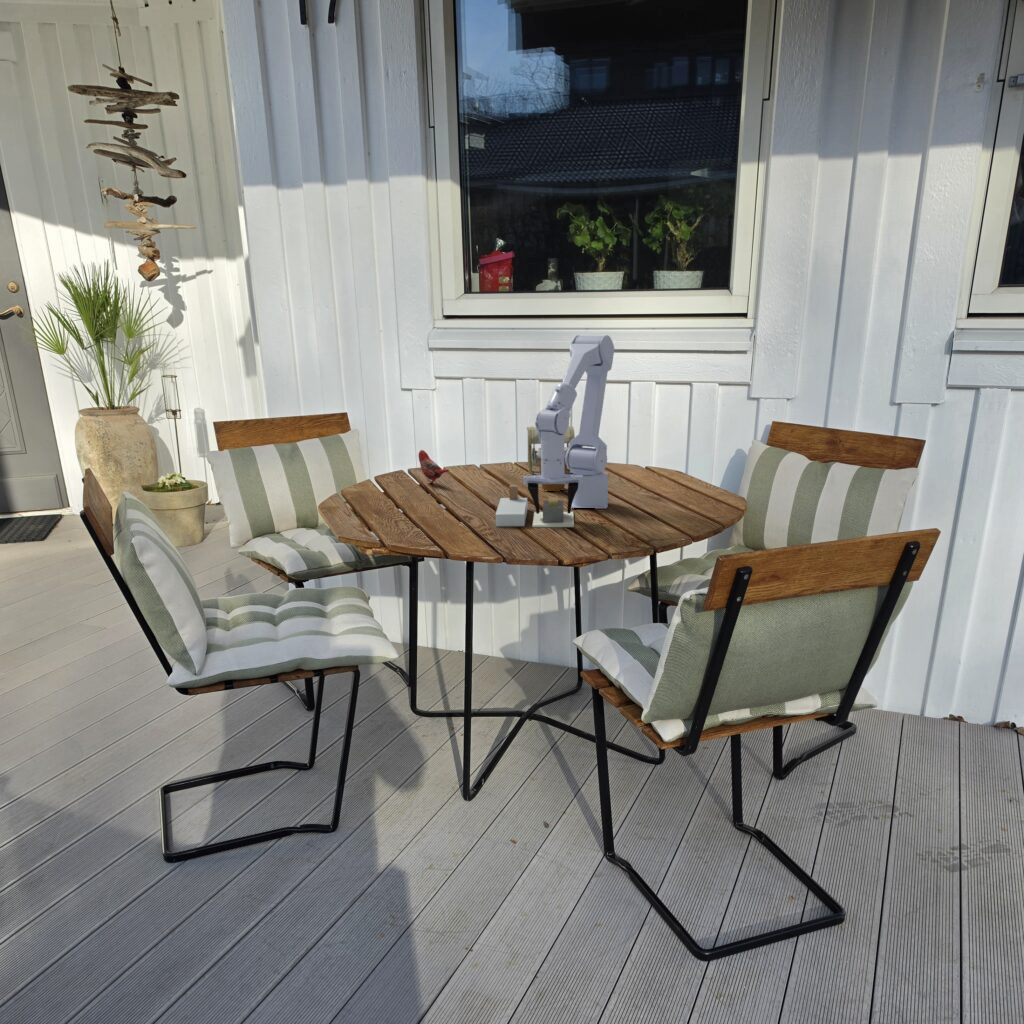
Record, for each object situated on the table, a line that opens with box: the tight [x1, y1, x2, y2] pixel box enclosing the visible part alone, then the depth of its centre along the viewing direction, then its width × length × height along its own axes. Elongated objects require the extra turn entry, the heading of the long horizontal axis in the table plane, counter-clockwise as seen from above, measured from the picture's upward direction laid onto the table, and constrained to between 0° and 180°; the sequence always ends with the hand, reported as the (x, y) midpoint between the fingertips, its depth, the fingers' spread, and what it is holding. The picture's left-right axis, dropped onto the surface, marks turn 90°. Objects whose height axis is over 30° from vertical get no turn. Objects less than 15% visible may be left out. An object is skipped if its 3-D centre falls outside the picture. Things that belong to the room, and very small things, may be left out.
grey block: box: [542, 496, 565, 523], centre depth 186 cm, size 5×8×4 cm, turn 176°
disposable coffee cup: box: [536, 446, 568, 491], centre depth 216 cm, size 10×10×12 cm
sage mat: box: [531, 511, 575, 528], centre depth 187 cm, size 10×12×1 cm
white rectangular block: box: [495, 484, 529, 527], centre depth 189 cm, size 7×16×6 cm, turn 176°
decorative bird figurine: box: [418, 449, 450, 485], centre depth 226 cm, size 3×18×10 cm, turn 37°
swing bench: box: [526, 425, 576, 475], centre depth 238 cm, size 15×10×15 cm, turn 91°
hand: (553, 512), depth 186 cm, fingers open, 7 cm apart
